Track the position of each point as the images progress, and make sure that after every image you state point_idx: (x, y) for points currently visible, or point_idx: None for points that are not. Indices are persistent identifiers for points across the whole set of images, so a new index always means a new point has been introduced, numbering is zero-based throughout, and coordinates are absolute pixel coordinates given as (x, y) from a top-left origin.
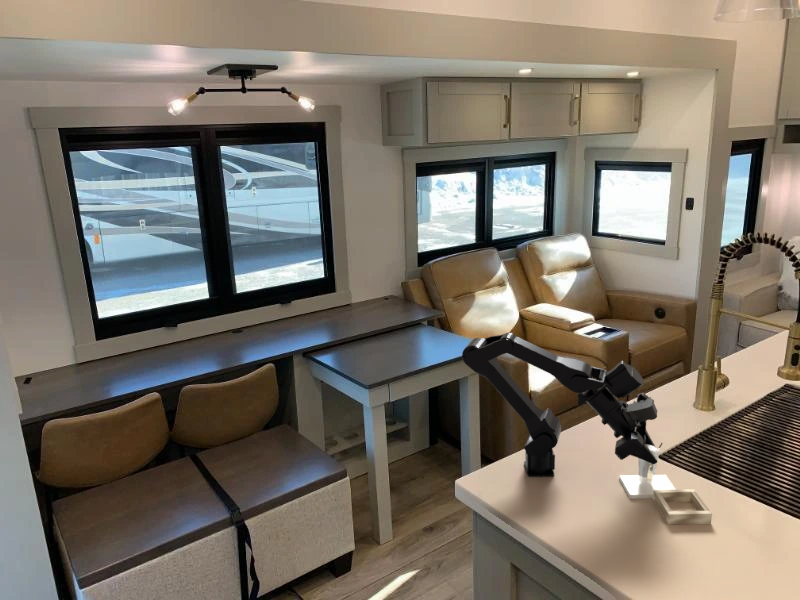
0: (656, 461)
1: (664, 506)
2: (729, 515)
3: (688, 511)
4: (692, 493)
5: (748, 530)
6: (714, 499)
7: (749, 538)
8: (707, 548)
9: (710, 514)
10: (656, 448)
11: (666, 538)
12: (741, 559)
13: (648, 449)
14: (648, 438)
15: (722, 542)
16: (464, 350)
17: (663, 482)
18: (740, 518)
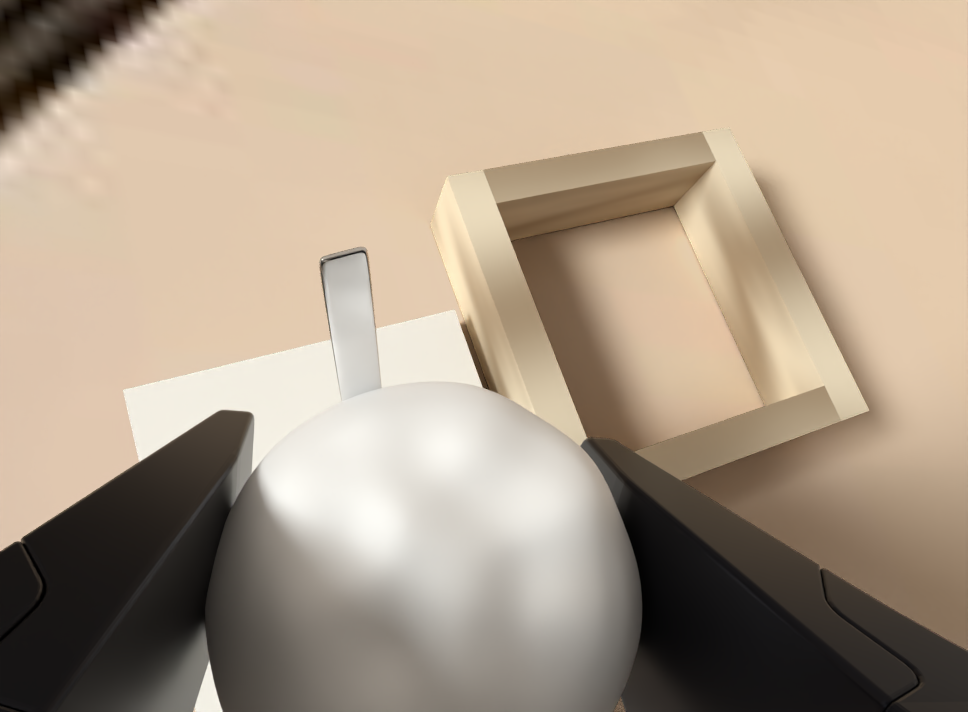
0: (622, 451)
1: (786, 437)
2: (558, 56)
3: (774, 269)
4: (518, 199)
5: (667, 8)
6: (394, 90)
7: (735, 25)
8: (913, 240)
9: (728, 140)
10: (385, 416)
11: (944, 453)
12: (913, 108)
13: (822, 596)
14: (145, 602)
15: (829, 157)
16: None
17: (290, 422)
18: (567, 10)
